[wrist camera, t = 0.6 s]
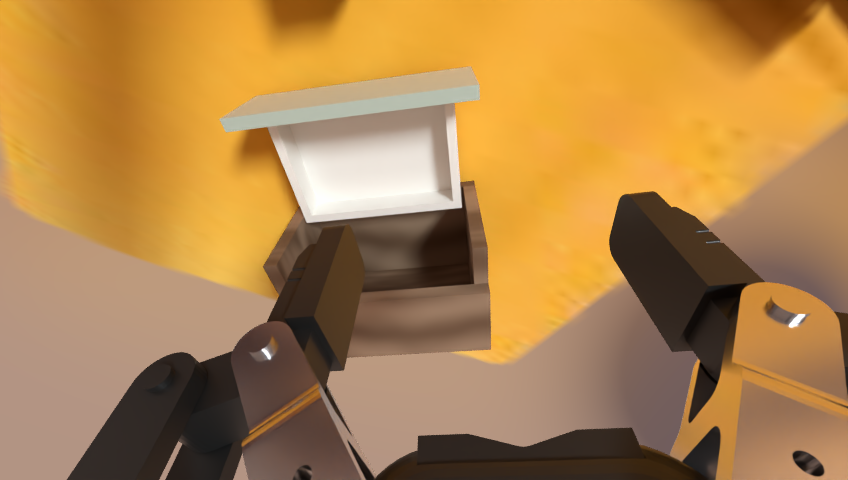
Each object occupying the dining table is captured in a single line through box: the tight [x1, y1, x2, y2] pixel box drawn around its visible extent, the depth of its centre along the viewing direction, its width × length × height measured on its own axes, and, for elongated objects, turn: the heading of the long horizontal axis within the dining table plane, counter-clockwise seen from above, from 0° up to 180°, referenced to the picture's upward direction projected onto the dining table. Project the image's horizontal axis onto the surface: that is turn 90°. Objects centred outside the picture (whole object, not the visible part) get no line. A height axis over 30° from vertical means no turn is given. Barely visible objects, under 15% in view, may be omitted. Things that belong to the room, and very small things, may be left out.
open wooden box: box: [263, 181, 491, 358], centre depth 35 cm, size 12×19×13 cm, turn 97°
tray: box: [220, 66, 480, 223], centre depth 30 cm, size 12×19×6 cm, turn 97°
